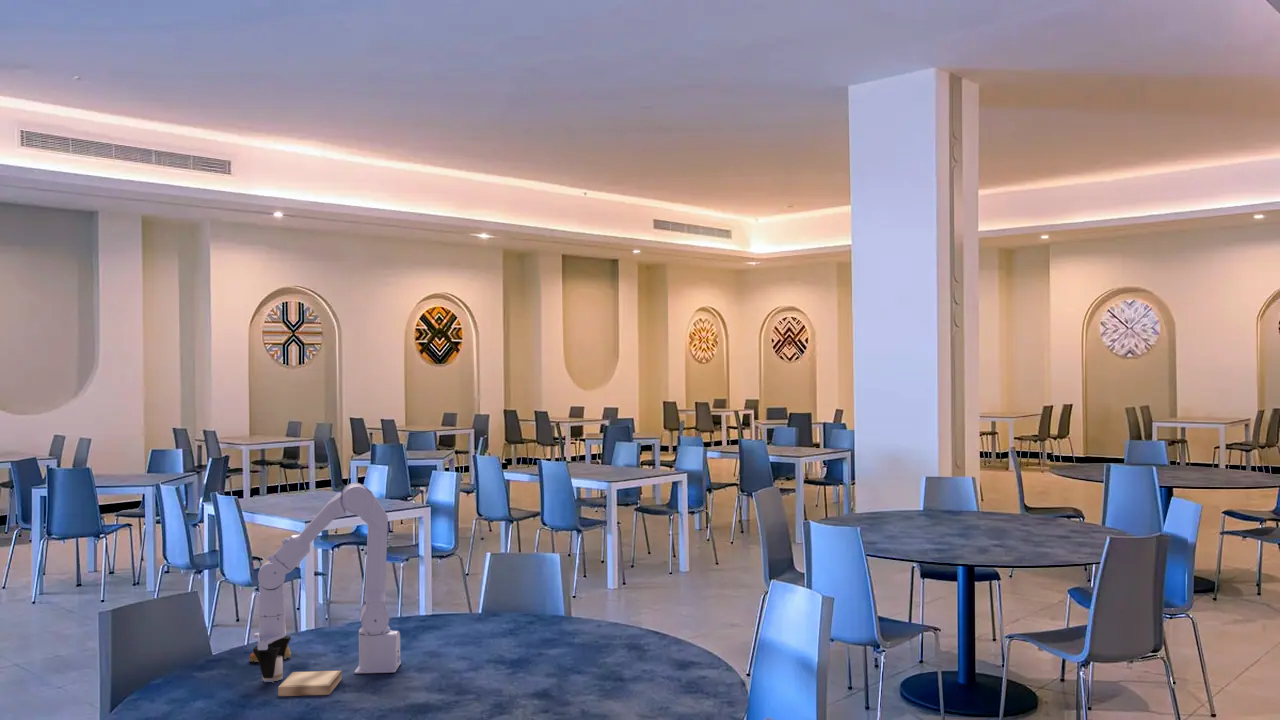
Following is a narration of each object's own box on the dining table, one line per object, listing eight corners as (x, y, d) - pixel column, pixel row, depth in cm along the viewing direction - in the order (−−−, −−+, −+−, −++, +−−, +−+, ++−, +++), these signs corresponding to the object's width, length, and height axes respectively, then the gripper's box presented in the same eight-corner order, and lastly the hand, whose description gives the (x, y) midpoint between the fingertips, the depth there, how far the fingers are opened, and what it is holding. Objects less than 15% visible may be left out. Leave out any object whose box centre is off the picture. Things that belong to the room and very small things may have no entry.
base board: (341, 679, 232) (341, 670, 232) (329, 694, 221) (329, 685, 221) (292, 680, 232) (292, 671, 232) (278, 696, 221) (278, 686, 221)
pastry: (255, 666, 244) (255, 650, 244) (245, 661, 249) (244, 645, 249) (293, 659, 250) (293, 643, 250) (282, 653, 255) (282, 638, 255)
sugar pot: (285, 676, 235) (285, 654, 235) (279, 682, 231) (279, 660, 231) (265, 677, 235) (265, 655, 235) (259, 683, 230) (259, 661, 231)
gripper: (264, 607, 240) (264, 664, 240) (243, 622, 226) (244, 683, 225) (294, 606, 240) (295, 663, 240) (275, 621, 226) (276, 682, 226)
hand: (272, 673), depth 233 cm, fingers open, 6 cm apart
